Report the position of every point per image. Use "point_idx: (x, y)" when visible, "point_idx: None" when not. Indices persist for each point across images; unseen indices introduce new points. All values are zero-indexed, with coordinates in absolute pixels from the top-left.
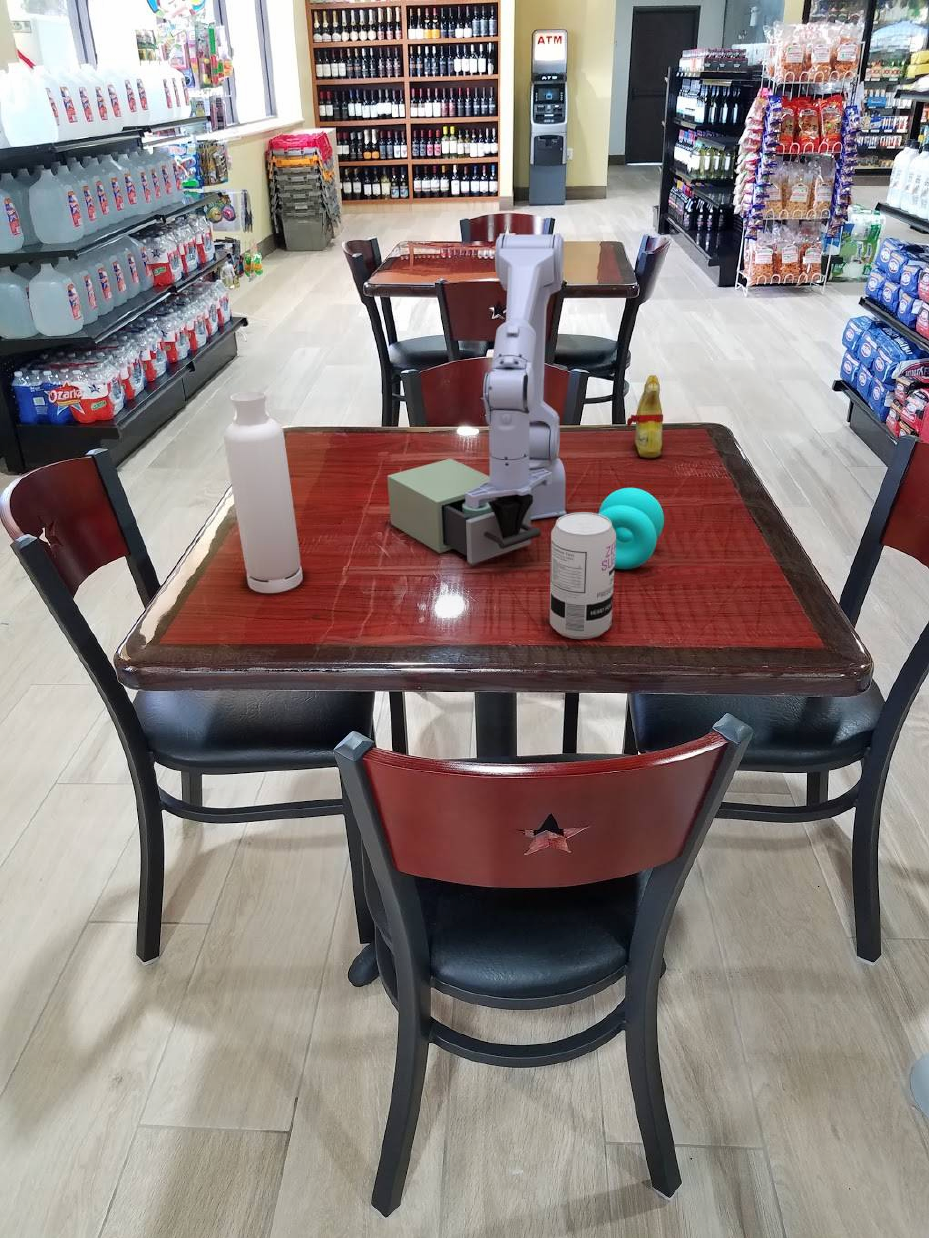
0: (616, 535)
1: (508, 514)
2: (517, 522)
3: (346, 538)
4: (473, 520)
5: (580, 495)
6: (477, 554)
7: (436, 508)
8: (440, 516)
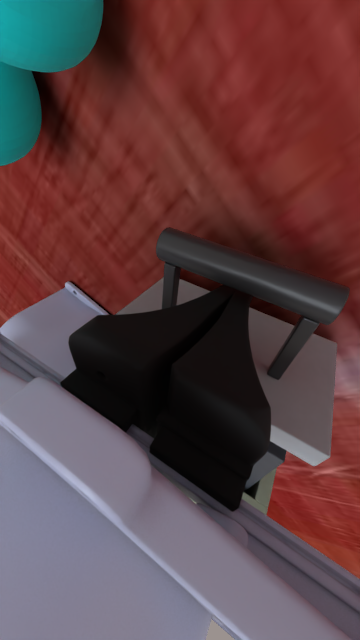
0: (3, 67)
1: (256, 376)
2: (208, 314)
3: (313, 503)
4: (301, 448)
5: (37, 292)
6: (315, 349)
7: (267, 503)
8: (267, 474)
